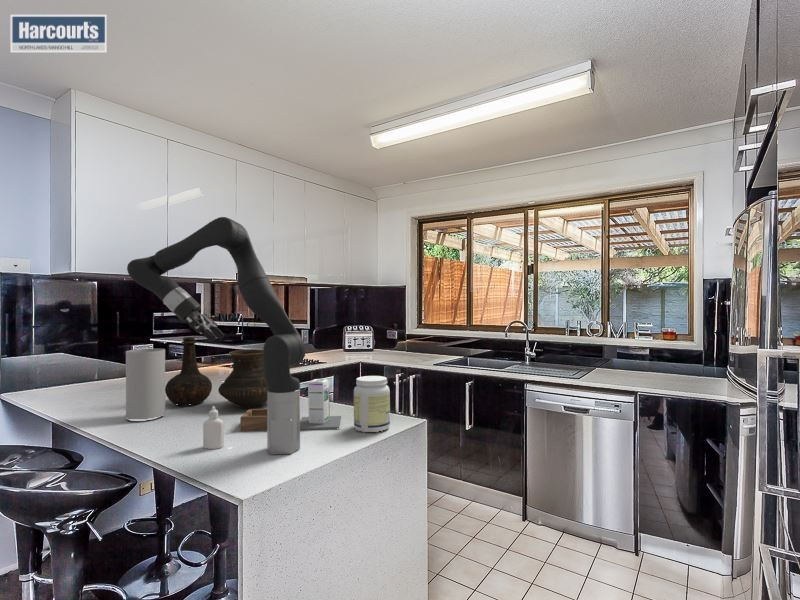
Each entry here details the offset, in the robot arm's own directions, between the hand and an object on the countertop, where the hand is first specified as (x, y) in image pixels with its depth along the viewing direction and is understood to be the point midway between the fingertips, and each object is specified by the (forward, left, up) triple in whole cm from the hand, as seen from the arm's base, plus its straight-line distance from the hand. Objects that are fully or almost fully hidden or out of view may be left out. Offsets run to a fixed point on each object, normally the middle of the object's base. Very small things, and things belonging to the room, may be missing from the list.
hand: (218, 338), depth 143 cm
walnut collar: (+5, -13, -31) cm, 34 cm away
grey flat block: (+5, -33, -31) cm, 45 cm away
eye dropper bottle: (-16, -4, -31) cm, 35 cm away
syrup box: (+5, -32, -30) cm, 45 cm away
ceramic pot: (+35, -2, -31) cm, 47 cm away
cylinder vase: (+20, +32, -31) cm, 49 cm away
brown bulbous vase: (+42, +25, -31) cm, 58 cm away
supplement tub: (-2, -51, -31) cm, 59 cm away
